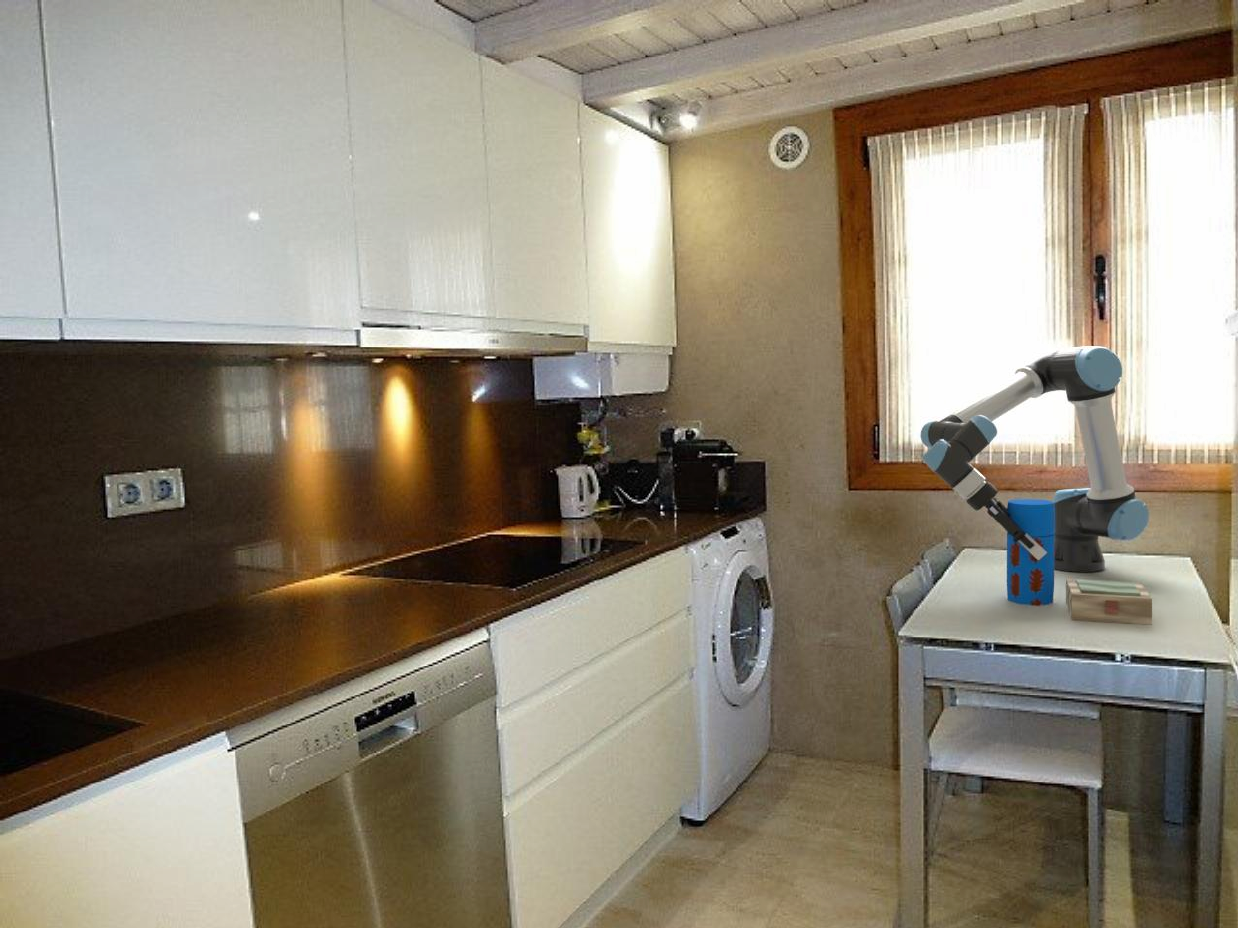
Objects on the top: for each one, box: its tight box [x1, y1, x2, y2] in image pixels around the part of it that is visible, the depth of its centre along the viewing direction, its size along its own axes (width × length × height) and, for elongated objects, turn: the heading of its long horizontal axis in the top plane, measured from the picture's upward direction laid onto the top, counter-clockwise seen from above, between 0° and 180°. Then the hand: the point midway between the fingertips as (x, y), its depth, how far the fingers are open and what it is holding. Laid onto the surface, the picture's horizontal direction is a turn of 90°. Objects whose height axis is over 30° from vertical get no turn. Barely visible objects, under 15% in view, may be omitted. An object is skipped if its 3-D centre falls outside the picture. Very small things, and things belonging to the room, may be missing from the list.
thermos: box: [1006, 498, 1055, 606], centre depth 222 cm, size 11×11×25 cm
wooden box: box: [1065, 578, 1153, 626], centre depth 208 cm, size 17×16×7 cm
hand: (1041, 551), depth 221 cm, fingers open, 12 cm apart
